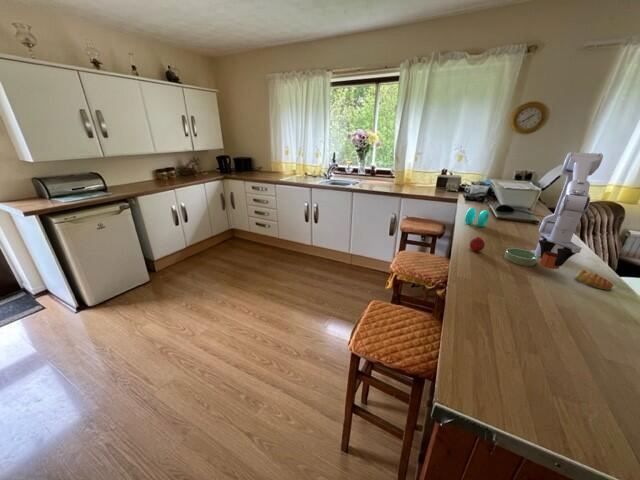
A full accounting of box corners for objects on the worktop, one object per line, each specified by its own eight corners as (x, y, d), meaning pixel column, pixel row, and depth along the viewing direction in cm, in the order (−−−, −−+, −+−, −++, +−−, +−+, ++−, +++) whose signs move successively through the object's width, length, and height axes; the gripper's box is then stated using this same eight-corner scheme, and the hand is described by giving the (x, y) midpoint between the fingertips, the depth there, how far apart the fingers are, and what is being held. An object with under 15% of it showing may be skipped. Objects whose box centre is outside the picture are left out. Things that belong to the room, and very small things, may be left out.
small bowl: (549, 261, 100) (553, 251, 98) (562, 269, 95) (567, 258, 93) (536, 262, 100) (540, 251, 98) (548, 269, 94) (552, 258, 93)
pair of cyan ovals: (468, 221, 159) (472, 205, 155) (486, 225, 152) (491, 209, 148) (462, 224, 152) (466, 208, 148) (480, 229, 146) (485, 212, 142)
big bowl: (521, 254, 115) (523, 247, 114) (542, 266, 105) (545, 259, 104) (498, 255, 115) (500, 248, 113) (516, 267, 105) (519, 259, 103)
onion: (484, 255, 114) (489, 238, 111) (470, 254, 115) (474, 237, 112) (479, 249, 120) (484, 234, 116) (466, 248, 121) (470, 233, 117)
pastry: (613, 287, 91) (618, 278, 90) (607, 293, 88) (612, 283, 86) (579, 275, 98) (583, 267, 97) (572, 280, 95) (576, 271, 94)
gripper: (536, 221, 98) (525, 253, 103) (573, 236, 84) (557, 271, 90) (554, 221, 98) (542, 253, 103) (593, 235, 85) (576, 271, 90)
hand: (550, 261), depth 97 cm, fingers closed on small bowl, 5 cm apart
